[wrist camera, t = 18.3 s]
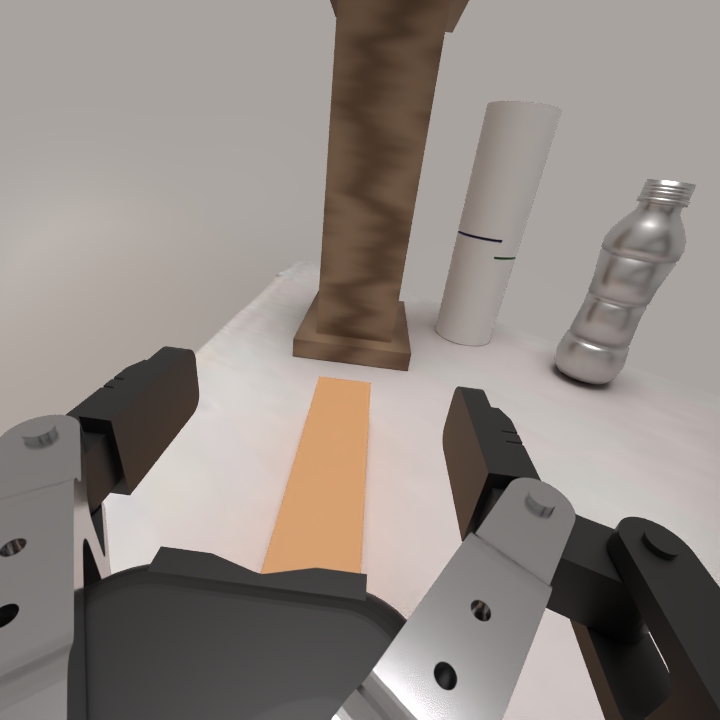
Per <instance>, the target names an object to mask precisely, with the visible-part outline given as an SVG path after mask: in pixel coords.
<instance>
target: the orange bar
mask: <svg viewBox="0 0 720 720" xmlns="http://www.w3.org/2000/svg"><path fill="white" fill-rule="evenodd" d="M370 388H371V383H368V382H359V381H351V380H343V379H335V378H327V377H319V379H318V382H317V386H316V389H315V393H314V396H313V399H312V403H311V406H310V409H309V413H308V416H307V419H306V423H305V426H304V430H303V433H302V436H301V440H300V443H299V446H298V450H297V453H296V457H295V460H294V463H293V467H292V470H291V473H290V477H289V480H288V484H287V487H286V490H285V494H284V497H283V500H282V504H281V507H280V511H279V514H278V517H277V521H276V524H275V527H274V531H273V534H272V537H271V541H270V544H269V548H268V551H267V554H266V558H265V561H264V564H263V568H262V571H261V574H266V573H275V572H283V571H291V570H300V569H308V568H316V567H317V568H324V569H331V570H339V571H346V572H354V573H361V555H362V536H363V518H364V499H365V481H366V462H367V444H368V425H369V406H370Z"/></svg>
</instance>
